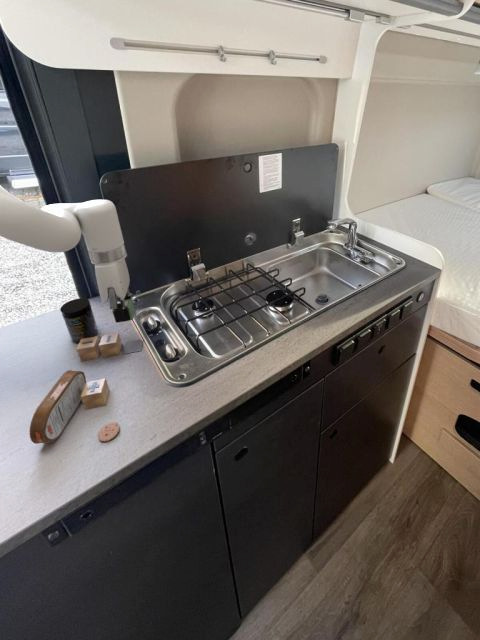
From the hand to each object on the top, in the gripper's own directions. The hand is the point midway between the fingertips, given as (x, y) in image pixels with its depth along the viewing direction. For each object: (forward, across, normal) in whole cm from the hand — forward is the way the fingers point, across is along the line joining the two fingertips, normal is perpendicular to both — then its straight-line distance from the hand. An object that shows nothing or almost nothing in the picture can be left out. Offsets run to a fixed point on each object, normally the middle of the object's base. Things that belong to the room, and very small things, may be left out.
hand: (124, 314), depth 84 cm
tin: (+11, +19, -10) cm, 24 cm away
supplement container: (+11, -8, -14) cm, 19 cm away
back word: (+11, 0, -5) cm, 12 cm away
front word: (+11, +16, -5) cm, 20 cm away
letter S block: (+1, 0, 0) cm, 1 cm away
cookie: (+11, +25, -1) cm, 28 cm away
